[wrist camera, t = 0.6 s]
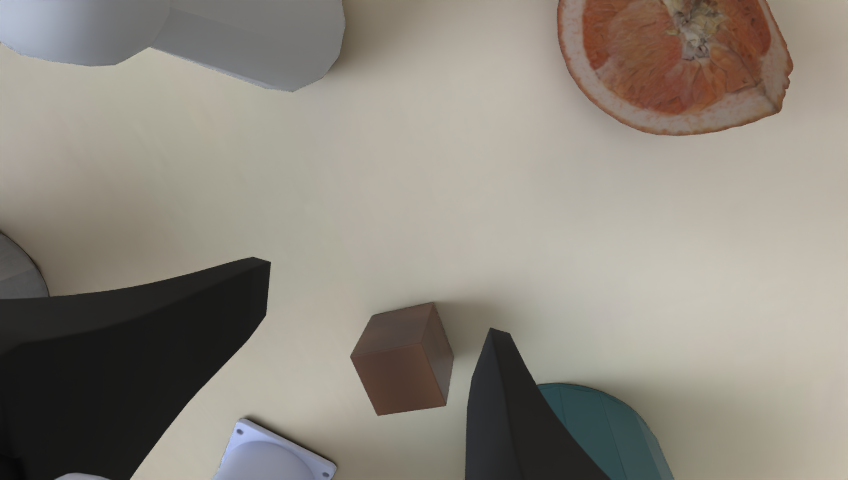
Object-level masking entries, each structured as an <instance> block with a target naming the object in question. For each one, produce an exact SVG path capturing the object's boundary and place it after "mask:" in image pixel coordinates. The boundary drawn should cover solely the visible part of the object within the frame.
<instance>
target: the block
mask: <svg viewBox="0 0 848 480" xmlns="http://www.w3.org/2000/svg"><path fill="white" fill-rule="evenodd" d="M350 358H351V360H352V362H353V365H354V367H355V369H356V371H357V373H358V375H359V377H360V379H361V382H362V384H363V386H364V388H365V390H366V392H367V394H368V397H369V399H370V401H371V403H372V405H373V407H374V409H375V412H376V414H377V415H378V416H380V415H387V414H393V413H400V412H407V411H414V410H421V409H428V408H435V407H442V406H446V404H447V398H448V391H449V385H450V379H451V373H452V367H453V360H454V356H453V354H452V351H451V348H450V346H449V343H448V340H447V338H446V335H445V332H444V330H443V327H442V324H441V322H440V319H439V316H438V314H437V311H436V308H435V306H434V303H433V302H432V303H427V304H423V305H418V306H414V307H409V308H405V309H400V310H396V311H391V312H386V313H382V314H377V315H373V316H372V317H371V318H370V320H369V322H368V324H367V326H366V328H365V330H364V331H363V333H362V335H361V337H360V339H359V341H358V343H357V344H356V346H355V348H354V350H353V352H352V354H351V356H350Z"/></svg>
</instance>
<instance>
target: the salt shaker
mask: <svg viewBox="0 0 848 480" xmlns="http://www.w3.org/2000/svg"><path fill="white" fill-rule="evenodd" d="M345 25H346V24H345V18H344V12H343V6H342V0H0V42H1V43H3V44H4V45H6V46H7V47H9V48H11V49H12V50H14V51H16V52H17V53H19V54H21V55H24V56H29V57H34V58H38V59H43V60H48V61H52V62H60V63H68V64H76V65H84V66H106V65H116V64H118V63H120V62H122V61H124V60H126V59H128V58H130V57H132V56H133V55H135V54H137V53H139V52H141V51H142V50H144V49H146V48H148V47H151V48H154V49H156V50H159V51H162V52H165V53H168V54H171V55H173V56H176V57H179V58H182V59H185V60H187V61H190V62H193V63H196V64H199V65H201V66H204V67H207V68H210V69H213V70H215V71H218V72H221V73H224V74H227V75H229V76H232V77H235V78H238V79H241V80H243V81H246V82H249V83H252V84H255V85H258V86H260V87H263V88H267V89H275V90H282V91H289V92H294V91H296V90H298V89H300V88H302V87H304V86H306V85H309V84H311V83H313V82H315V81H317V80H319V79H321V78H322V77H323V76H324V75H325V73H326V72H327V71H328V70H329V68H330V67H331V66H332V65H333V63H334V62H335V61H336V60H337V58H338V57H339V54H340V49H341V44H342V39H343V35H344V30H345Z"/></svg>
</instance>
